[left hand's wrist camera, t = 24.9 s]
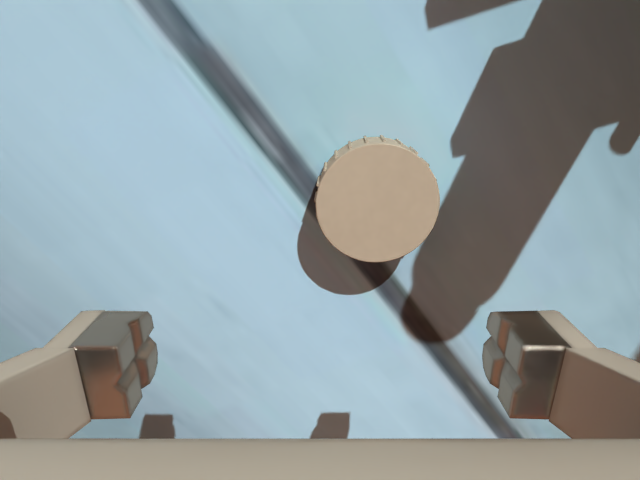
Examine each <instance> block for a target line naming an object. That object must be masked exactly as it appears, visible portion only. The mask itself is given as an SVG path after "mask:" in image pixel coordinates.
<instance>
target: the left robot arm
mask: <svg viewBox="0 0 640 480" xmlns="http://www.w3.org/2000/svg"><path fill="white" fill-rule="evenodd" d="M153 328H154V326H153V321H152V316H151V315H150V314H149V312H148V311H105V310H95V311H81V312H80V313H79V314H78V315H77V316H76V317H75V318H74V319H73V320H72V321H71V322H70V323H68V324H67V325H66V326H65V327H64V328H63V329H62V330H61V331H60V332H59V333H58V334H57V335H56V336H55V337H54V338H53V339H52V340H50V341H49V342H48V343H47V344H46V345H45V346H44V347H43V348H34V349H32V350H30V351H27V352H25V353H22V354H20V355H18V356H15V357H13V358H11V359H8V360H6V361H3V362H1V363H0V480H640V363H639V362H636V361H634V360H632V359H629V358H627V357H625V356H622V355H620V354H617V353H615V352H613V351H610V350H608V349H606V348H597V347H596V346H595V345H594V344H593V343H592V342H591V341H590V340H588V339H587V338H586V337H585V336H584V335H583V334H582V333H581V332H580V331H579V330H578V329H577V328H576V327H575V326H574V325H573V324H572V323H571V322H569V321H568V320H567V319H566V318H565V317H564V316H563V315H562V314H561V313H560V312H558V311H555V310H546V311H504V312H491V313H490V315H489V317H488V320H487V326H486V328H487V330H488V331H489V333H490V335H491V337H490V338H489V339H488V340H487V341H486V342H485V343H484V345H483V353H482V360H483V368H484V372H485V375H486V377H487V379H488V381H489V383H490V384H492V385H493V386H495V387H496V388H498V389H499V391H498V399H499V400H500V402H501V404H502V406H503V407H504V409H505V411H506V412H507V414H508V416H509V418H522V419H549V421H550V422H551V423H552V424H553V425H555V426H556V427H557V428H559V429H560V430H561V431H563V432H564V433H565V434H567V435H568V436H569V437H571V438H572V439H68V438H70V437H71V436H72V435H73V434H75V433H76V432H77V431H79V430H80V429H81V428H83V427H84V426H85V425H87V424H88V423H89V422H91V419H117V418H131V416H132V414H133V413H134V411H135V409H136V407H137V406H138V404H139V402H140V400H141V399H142V391H141V389H142V388H144V387H145V386H147V385H148V384H150V383H151V381H152V379H153V377H154V375H155V371H156V367H157V363H158V352H157V345H156V343H155V342H154V341H153V340H152V339H151V338H150V337H149V334H150V333H151V331H152V330H153Z"/></svg>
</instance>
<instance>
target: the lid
mask: <svg viewBox="0 0 640 480" xmlns="http://www.w3.org/2000/svg"><path fill="white" fill-rule="evenodd" d="M363 137H364V138H361V139H358V140H355V141H353V142H351V141H348V144H346V145H345V146H343V147H342V148H340V149H339V150H338V151H337V150H335V151H334V155H333V156H332V157H331V158H330V159H329V161H328V162H325V163H324V168H323V171H322V173H321V176H318V180H317V185H316V186H318V190H317V191H316V193H315V198H314V202H316V218H317V219H318V222H319V225H320V228H321V230H322V232H323V234H324V235H325V237H326V238H327V239H328V241H329V242H330V243H331V244H332V245H333V246H334V247H335V248H336V249H338V250H339V251H340V252H342V253H344V254H345V255H347V256H349V257H351V258H354V259H357V260H361V261H366V262H385V261H390V260H394V259H397V258H400V257H402V256H404V255H406V254H408V253H410V252H411V251H413V250H414V249H415V248H417V247H418V246H419V245H420V244H421V243H422V242H423V241H424V240H425V239H426V238H427V236H428V235H429V233H430V232H431V230H432V229H433V227H434V224H435V222H436V219H437V216H438V212H439V205H440V196H439V189H438V185H437V182H436V181H437V180H436V178H435V177H434V175H433V173H432V171H431V170H430V168H429V166H430V165H429V164H428V163H427V162H426V161H425V160H424V159H423V158H422V157H421V158H420V157H419V156H418V155H417V154H418V152H417V151H415V150H414V149H413V148H412V147H411V146H410V147H407V146H406V145H404V144H403V143H402V142H401V141H400V140H399V139H396V140H393V139H390V138H385V137H384V136H383V135H380V137H366V136H363Z"/></svg>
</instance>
